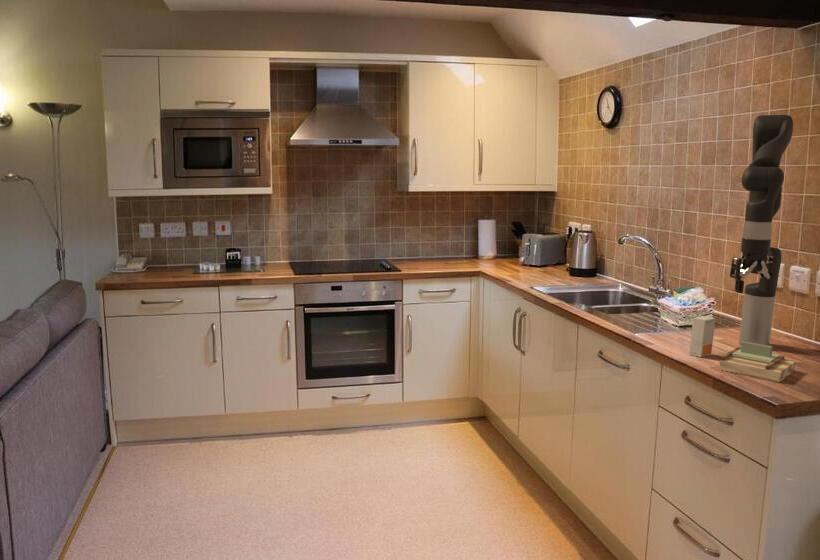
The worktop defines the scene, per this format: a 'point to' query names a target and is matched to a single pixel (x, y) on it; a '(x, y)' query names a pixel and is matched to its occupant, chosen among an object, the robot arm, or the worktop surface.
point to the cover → (756, 352)
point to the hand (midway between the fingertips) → (750, 291)
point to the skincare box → (702, 336)
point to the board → (757, 367)
